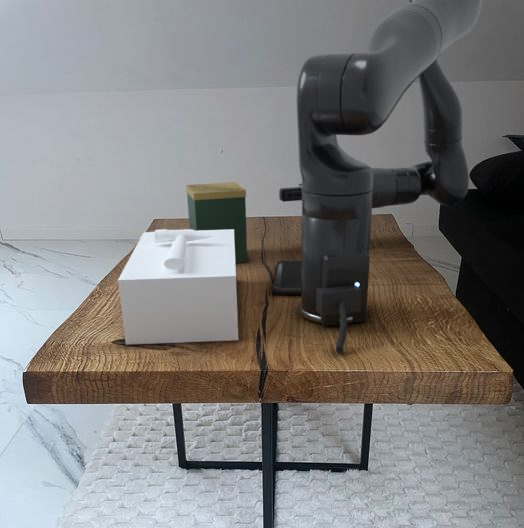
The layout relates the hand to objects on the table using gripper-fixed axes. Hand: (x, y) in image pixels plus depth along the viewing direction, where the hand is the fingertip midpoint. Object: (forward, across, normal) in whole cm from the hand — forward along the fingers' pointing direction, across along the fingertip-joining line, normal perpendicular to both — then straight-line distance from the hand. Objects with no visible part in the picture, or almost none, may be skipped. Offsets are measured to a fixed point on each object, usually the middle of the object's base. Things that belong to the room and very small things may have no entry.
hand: (280, 195), depth 112 cm
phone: (+2, +18, +11) cm, 21 cm away
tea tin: (+12, 0, +11) cm, 16 cm away
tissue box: (+22, +26, +11) cm, 35 cm away
